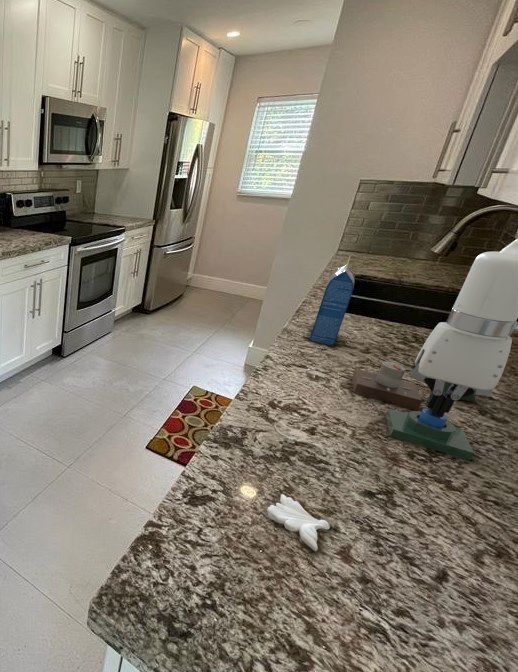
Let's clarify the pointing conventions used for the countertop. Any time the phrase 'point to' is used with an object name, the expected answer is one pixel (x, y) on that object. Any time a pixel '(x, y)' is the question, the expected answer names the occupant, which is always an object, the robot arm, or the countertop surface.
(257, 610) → the countertop surface
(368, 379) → the knob console
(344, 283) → the blue food package
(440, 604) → the countertop surface
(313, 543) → the acanthus leaf ornament
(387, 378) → the dial
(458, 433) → the push cap base
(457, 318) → the robot arm
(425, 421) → the push cap
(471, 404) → the countertop surface
